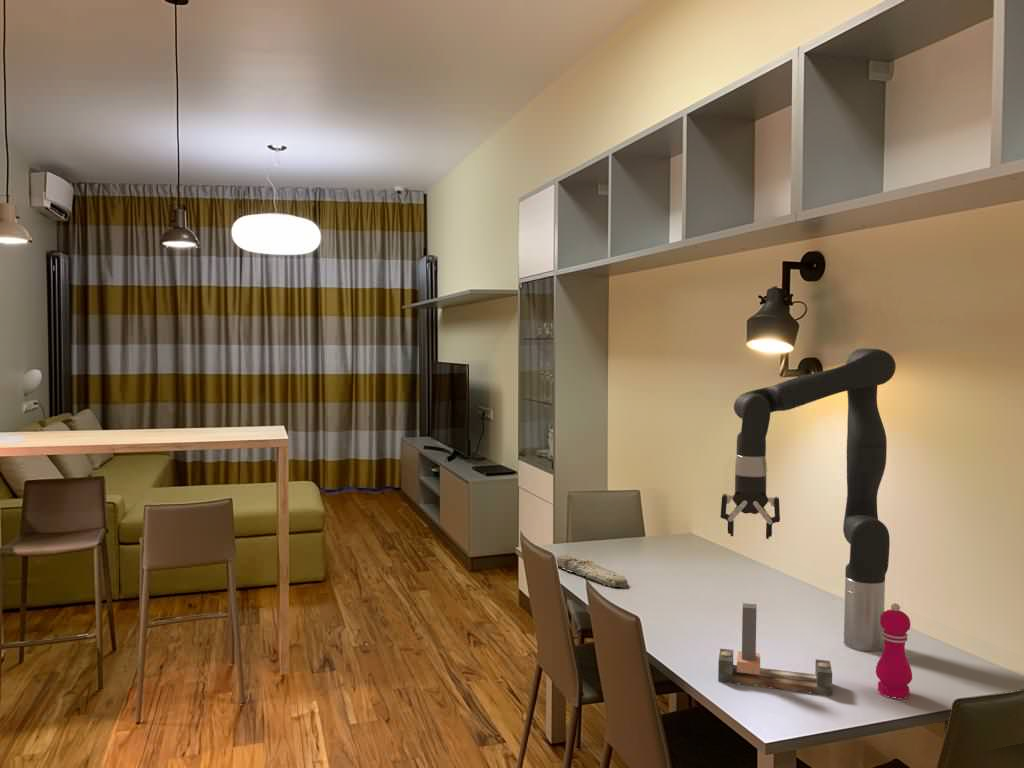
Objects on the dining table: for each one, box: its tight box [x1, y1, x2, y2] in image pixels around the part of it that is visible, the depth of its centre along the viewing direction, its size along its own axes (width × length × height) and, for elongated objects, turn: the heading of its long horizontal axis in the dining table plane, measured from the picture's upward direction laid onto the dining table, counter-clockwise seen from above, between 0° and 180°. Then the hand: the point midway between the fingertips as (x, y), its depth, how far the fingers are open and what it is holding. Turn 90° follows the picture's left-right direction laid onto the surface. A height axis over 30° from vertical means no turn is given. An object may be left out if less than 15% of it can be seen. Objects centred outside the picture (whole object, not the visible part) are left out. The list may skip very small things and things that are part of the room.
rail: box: [717, 648, 833, 696], centre depth 180 cm, size 24×7×5 cm, turn 72°
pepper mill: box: [875, 602, 913, 699], centre depth 174 cm, size 7×7×20 cm
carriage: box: [736, 602, 761, 675], centre depth 181 cm, size 5×6×14 cm
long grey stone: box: [554, 554, 629, 588], centre depth 263 cm, size 35×5×10 cm
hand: (749, 536), depth 200 cm, fingers open, 8 cm apart
